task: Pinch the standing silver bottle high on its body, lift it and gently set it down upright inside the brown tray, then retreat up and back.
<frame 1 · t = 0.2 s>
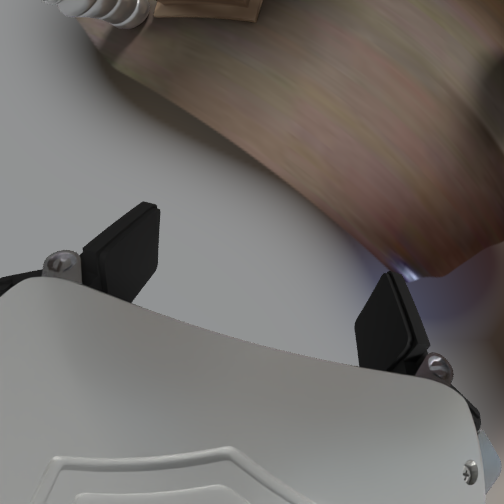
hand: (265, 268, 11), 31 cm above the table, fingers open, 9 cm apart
silver bottle: (138, 14, 29), on the table
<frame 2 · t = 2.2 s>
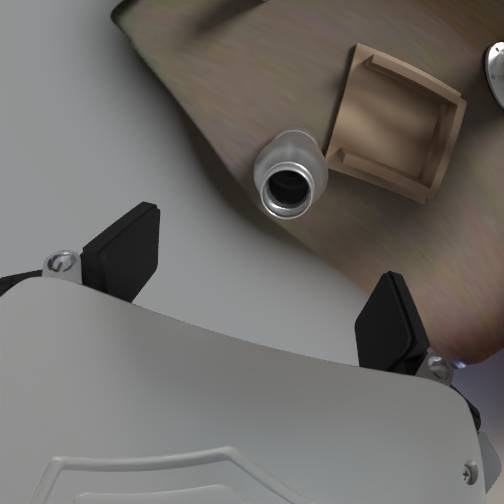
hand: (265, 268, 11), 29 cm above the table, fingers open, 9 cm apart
brown tray: (395, 124, 31), on the table
silver bottle: (295, 149, 35), on the table
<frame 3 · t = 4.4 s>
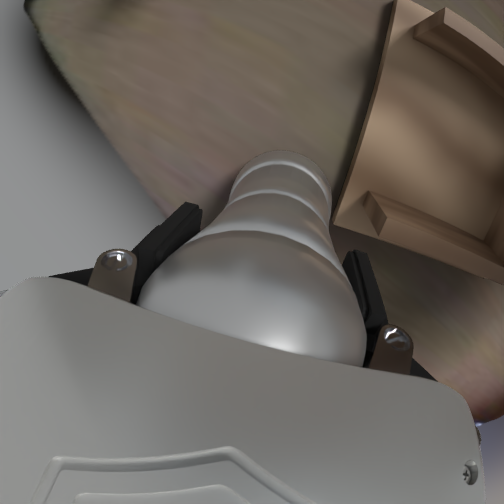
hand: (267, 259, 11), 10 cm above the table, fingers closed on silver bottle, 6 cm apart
brown tray: (460, 147, 15), on the table
silver bottle: (283, 189, 20), on the table, touching gripper
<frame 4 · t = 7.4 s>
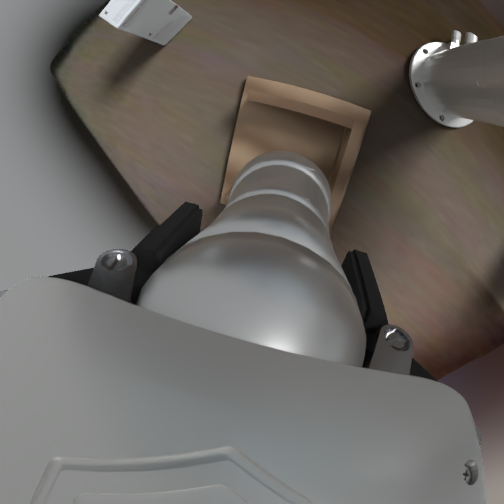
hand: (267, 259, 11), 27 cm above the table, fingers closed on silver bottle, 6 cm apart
skincare box: (170, 24, 27), on the table
brown tray: (293, 154, 35), on the table
silver bottle: (283, 189, 20), point 17 cm above the table, touching gripper
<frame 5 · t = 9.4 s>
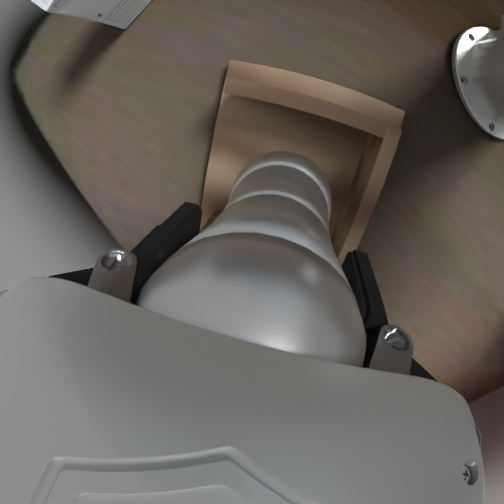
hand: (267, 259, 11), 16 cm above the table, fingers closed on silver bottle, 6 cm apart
skincare box: (133, 2, 18), on the table
brown tray: (294, 170, 25), on the table
silver bottle: (283, 189, 20), point 7 cm above the table, touching gripper
when the fingers open (13 cm above the table, at t = 10.7 s): silver bottle drops 2 cm, resting on brown tray.
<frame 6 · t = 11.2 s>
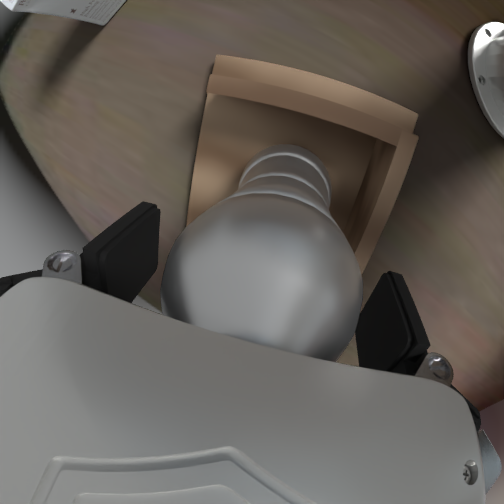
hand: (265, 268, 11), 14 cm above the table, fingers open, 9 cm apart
brown tray: (291, 180, 22), on the table
silver bottle: (287, 181, 21), point 1 cm above the table, touching brown tray
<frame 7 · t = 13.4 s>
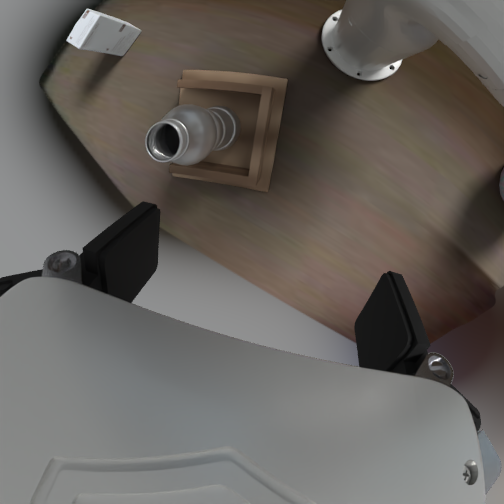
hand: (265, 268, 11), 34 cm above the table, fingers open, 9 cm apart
skincare box: (126, 38, 33), on the table
brown tray: (227, 127, 40), on the table
silver bottle: (223, 126, 39), point 1 cm above the table, touching brown tray
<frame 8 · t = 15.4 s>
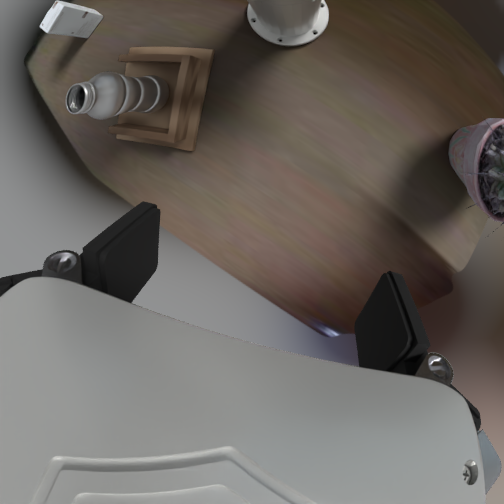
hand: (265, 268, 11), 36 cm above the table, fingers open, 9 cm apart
potted plant: (464, 153, 36), on the table
skincare box: (92, 23, 33), on the table
brown tray: (161, 94, 41), on the table
silver bottle: (157, 94, 40), point 1 cm above the table, touching brown tray
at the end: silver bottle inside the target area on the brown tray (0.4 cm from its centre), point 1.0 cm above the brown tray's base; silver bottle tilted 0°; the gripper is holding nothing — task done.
